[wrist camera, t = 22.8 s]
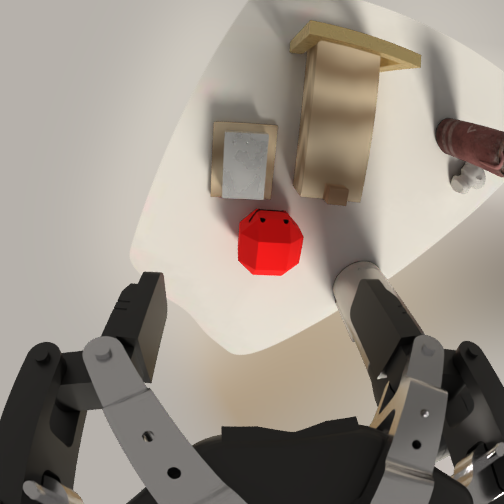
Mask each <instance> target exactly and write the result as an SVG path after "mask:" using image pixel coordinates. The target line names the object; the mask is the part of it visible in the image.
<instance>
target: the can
mask: <svg viewBox="0 0 504 504" xmlns="http://www.w3.org/2000/svg"><path fill="white" fill-rule="evenodd" d="M436 140H437V143H438V145H439V147H440V149H441V150H442V151H443V152H444V153H445V154H448V155H451V156H453V157H456V158H458V159H461V160H463V161H466V162H468V163H471V164H473V165H475V166H478V167H480V168H482V169H485V170H487V171H489V172H491V173H493V174H495V175H497V176H500V177H504V132H502V131H499V130H496V129H492V128H489V127H485V126H481V125H477V124H473V123H469V122H465V121H460V120H456V119H451V118H446V119H444V120H442V121H441V123H440V124H439V125H438V127H437V131H436Z"/></svg>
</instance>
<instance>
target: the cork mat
mask: <svg viewBox="0 0 504 504" xmlns="http://www.w3.org/2000/svg"><path fill="white" fill-rule="evenodd" d="M226 130H241V131H258V132H266V133H268V134H269V141H268V153H267V164H266V176H265V187H264V199H271V190H272V180H273V170H274V160H275V150H276V140H277V130H278V126H277V125H266V124H253V123H237V122H214V127H213V146H212V170H211V197H222V184H223V160H224V139H225V131H226Z"/></svg>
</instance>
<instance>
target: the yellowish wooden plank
mask: <svg viewBox="0 0 504 504" xmlns="http://www.w3.org/2000/svg"><path fill="white" fill-rule="evenodd" d="M320 41H326V42H330V43H334V44H339V45H343V46H347V47H350V48H354V49H358V50H361V51H365V52H368V53H371V54H374V55H378V56H380V71H379V72H384V71H392V70H401V69H410V68H421V55H420V54H418V53H415V52H413V51H411V50H408V49H406V48H403V47H401V46H398V45H396V44H393V43H390V42H388V41H385V40H382V39H379V38H376V37H373V36H370V35H367V34H364V33H361V32H357V31H354V30H350V29H347V28H343V27H339V26H335V25H331V24H326V23H322V22H317V21H312V20H310V21H309V22H308V23H307V24H306V25H305V27H304V28H303V29H302V30H301V31H300V32H299V33H298V34H297V35H296V36H295V37H294V38H293V39H292V40H291V42H290V53H297V54H303V53H304V52H306V51H307V50H309V49H310V48H311V47H313V46H314V45H316V44H317V43H318V42H320Z"/></svg>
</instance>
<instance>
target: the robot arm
mask: <svg viewBox="0 0 504 504" xmlns="http://www.w3.org/2000/svg"><path fill="white" fill-rule="evenodd" d="M333 292H334V296H335V298H336V300H337V302H336V306H337V308H338V310H339V312H340V315H341V317H342V319H343V322H344V324H345V326H346V328H347V331H348V333H349V335H350V338H351V340H352V341H353V342H355V343H356V345H357V348H358V350H359V352H360V355H361V357H362V359H363V361H364V364H365V366H366V369H367V371H368V374H369V376H370V379H371V382H372V387H373V392H374V397H375V401H376V403H377V406H378V408H377V411H376V414H375V416H374V419H373V421H372V423H371V424H370V426H364V425H358V422H357V418H356V417H350V418H345V419H337V420H331V421H325V422H322V423H320V424H317V425H314V426H312V427H309V428H306V429H303V430H300V431H297V432H287V431H280V430H274V429H268V428H262V427H224V426H222V435H217V436H213V437H210V438H207V439H204V440H202V441H199V442H198V443H196V444H194V445H191V444H190V443H189V442H188V440H187V439H186V438H185V436H184V435H183V434H182V433H181V431H180V430H179V429H178V427H177V426H176V424H175V423H174V422H173V420H172V419H171V417H170V416H169V415H168V413H167V412H166V410H165V409H164V408H163V406H162V405H161V403H160V402H159V400H158V399H157V397H156V396H155V394H154V393H153V391H152V390H151V389H150V388H147V387H146V385H145V384H144V382H145V383H152V377H153V373H154V368H155V364H156V360H157V355H158V351H159V347H160V342H161V338H162V334H163V330H164V326H165V322H166V318H167V299H166V291H165V283H164V275H163V273H161V272H143V274H142V276H141V278H140V281H139V283H138V284H130V285H129V286H127V287H126V288H125V289H124V290H123V291H122V292H121V294H120V297H119V299H118V302H117V303H116V305H115V307H114V309H113V311H112V313H111V315H110V318H109V320H108V322H107V324H106V326H105V329H104V331H103V333H102V336H101V337H98V338H95V339H93V340H91V341H90V342H89V343H88V344H87V345H86V346H85V348H84V350H83V351H78V352H68V353H61V351H60V350H59V348H58V347H57V346H56V345H55V344H53V343H50V342H43V343H40V344H37V345H35V346H34V347H33V348H32V349H31V350H30V351H29V352H28V354H27V356H26V358H25V361H24V363H23V365H22V367H21V369H20V371H19V374H18V376H17V378H16V380H15V383H14V385H13V387H12V390H11V393H10V395H9V397H8V400H7V403H6V405H5V408H4V411H3V413H2V416H1V419H0V504H84V503H83V501H82V499H81V497H80V496H79V495H78V494H77V493H76V492H74V491H73V484H74V477H75V470H76V464H77V458H78V453H79V447H80V442H81V437H82V432H83V427H84V423H85V418H86V414H87V410H93V409H102V410H103V412H104V414H105V417H106V419H107V421H108V423H109V425H110V427H111V429H112V431H113V433H114V434H115V436H116V438H117V440H118V442H119V444H120V446H121V447H122V449H123V451H124V453H125V454H126V456H127V457H128V459H129V461H130V463H131V464H132V466H133V467H134V469H135V471H136V472H137V474H138V475H139V477H140V478H141V480H142V481H143V483H144V484H145V486H146V487H145V488H144V489H143V490H142V491H141V492H140V493H138V494H137V495H136V496H135V497H134V498H133V499H131V500H130V501H129V502H128V503H127V504H504V387H503V385H502V383H501V382H500V380H499V378H498V376H497V374H496V373H495V371H494V369H493V368H492V366H491V364H490V363H489V361H488V359H487V358H486V356H485V355H484V353H483V352H482V350H481V349H480V348H479V346H477V345H476V344H474V343H472V342H470V341H464V342H462V343H461V344H460V345H459V347H458V348H457V350H448V349H443V346H442V345H441V344H440V342H439V341H438V340H436V339H435V338H433V337H431V336H428V335H425V334H424V332H423V331H422V329H421V327H420V326H419V324H418V323H417V321H416V320H415V319H414V317H413V316H412V314H411V313H410V311H409V310H408V308H407V307H406V305H405V304H404V302H403V301H402V300H401V298H400V297H399V295H398V294H397V292H396V291H395V290H394V288H393V287H392V286H391V284H390V283H389V282H388V280H387V279H386V277H385V276H384V275H383V273H382V272H381V271H380V269H379V268H378V267H377V266H376V265H375V264H374V263H371V262H367V261H361V262H357V263H353V264H351V265H349V266H348V267H346V268H345V269H344V270H343V271H342V272H340V274H339V275H338V276H337V278H336V280H335V282H334V286H333ZM448 456H451V459H452V463H453V465H454V474H453V475H452V476H451V477H450V476H448V475H447V474H445V473H443V472H442V471H440V470H439V469H437V468H436V467H434V465H435V463H436V462H438V461H440V460H442V459H444V458H446V457H448Z"/></svg>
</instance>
